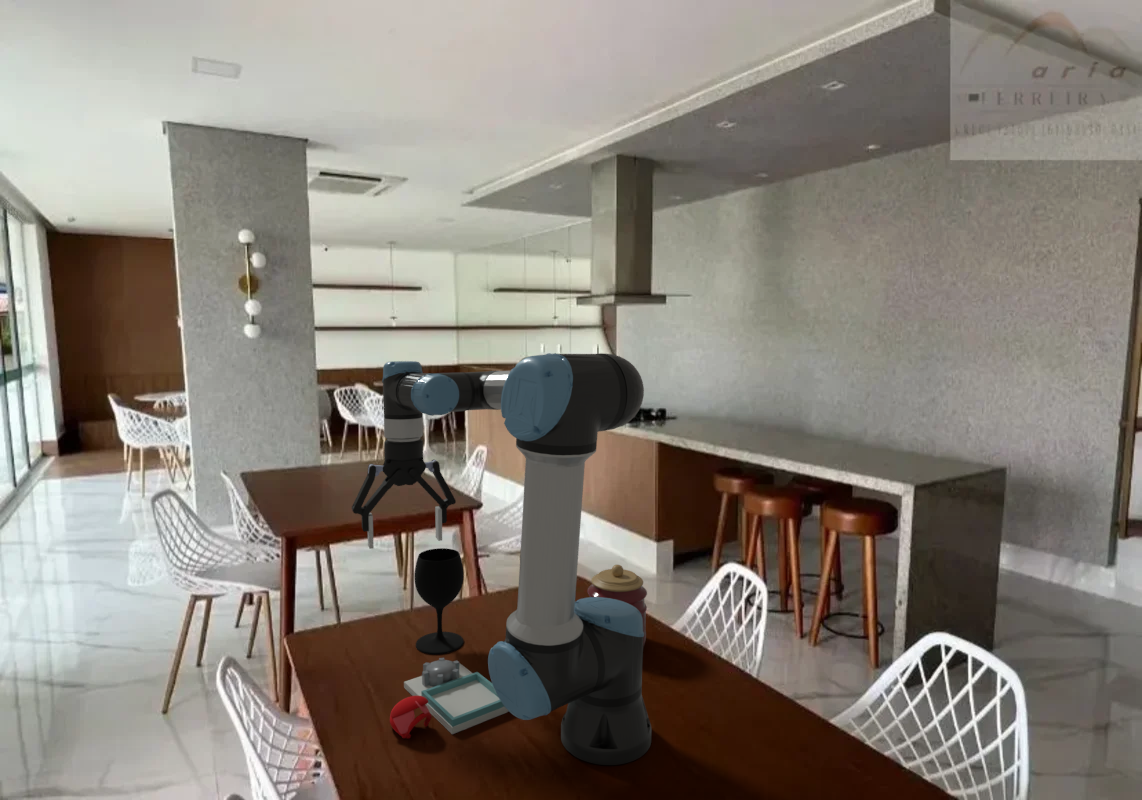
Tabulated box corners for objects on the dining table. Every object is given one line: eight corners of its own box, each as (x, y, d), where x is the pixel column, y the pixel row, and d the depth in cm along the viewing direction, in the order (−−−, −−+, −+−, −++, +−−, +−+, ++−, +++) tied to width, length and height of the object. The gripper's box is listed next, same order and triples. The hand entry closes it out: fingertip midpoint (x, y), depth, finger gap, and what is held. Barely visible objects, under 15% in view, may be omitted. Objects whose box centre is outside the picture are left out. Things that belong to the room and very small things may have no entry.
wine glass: (406, 642, 147) (405, 553, 145) (447, 629, 154) (446, 544, 152) (431, 659, 139) (430, 566, 138) (473, 644, 146) (472, 555, 145)
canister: (658, 645, 147) (660, 566, 146) (615, 663, 139) (616, 580, 137) (616, 625, 157) (618, 551, 155) (574, 641, 149) (575, 563, 147)
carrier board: (511, 710, 121) (511, 690, 121) (452, 734, 114) (452, 713, 113) (459, 668, 136) (459, 651, 135) (404, 687, 128) (403, 669, 128)
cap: (444, 708, 116) (425, 681, 118) (423, 714, 110) (403, 685, 113) (416, 743, 116) (397, 716, 119) (394, 750, 111) (375, 721, 114)
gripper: (460, 433, 143) (461, 531, 145) (336, 439, 133) (338, 544, 135) (469, 437, 136) (470, 540, 138) (339, 445, 126) (342, 555, 128)
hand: (405, 542), depth 136 cm, fingers open, 13 cm apart
